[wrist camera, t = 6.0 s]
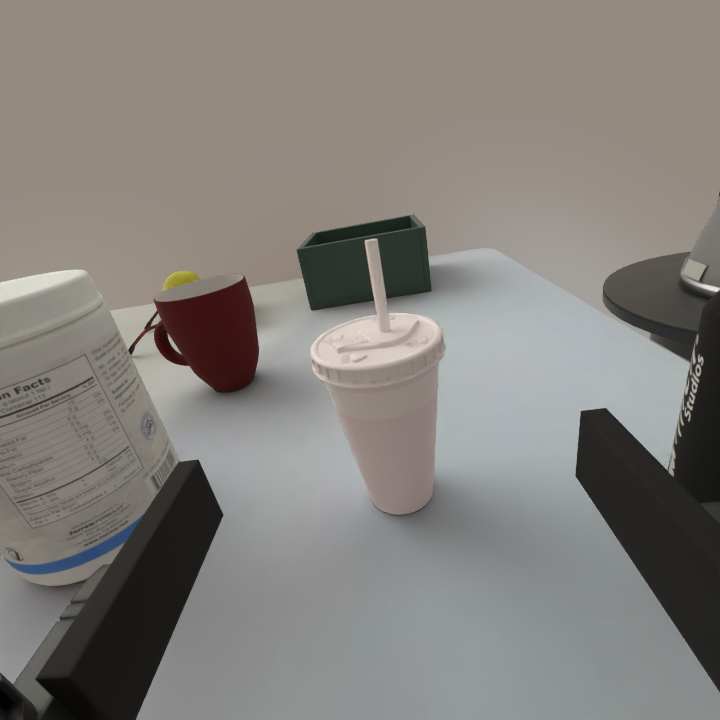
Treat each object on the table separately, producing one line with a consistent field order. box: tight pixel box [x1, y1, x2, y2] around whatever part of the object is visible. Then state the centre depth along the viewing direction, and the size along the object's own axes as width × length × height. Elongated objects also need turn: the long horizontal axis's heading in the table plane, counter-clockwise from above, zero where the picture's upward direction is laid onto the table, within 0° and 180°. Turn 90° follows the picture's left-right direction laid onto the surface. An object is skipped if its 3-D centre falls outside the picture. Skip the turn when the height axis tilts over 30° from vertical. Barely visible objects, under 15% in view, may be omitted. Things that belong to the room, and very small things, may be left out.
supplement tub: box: [0, 270, 180, 586], centre depth 21 cm, size 10×10×15 cm
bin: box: [297, 215, 431, 310], centre depth 61 cm, size 18×16×9 cm
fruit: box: [162, 271, 200, 292], centre depth 69 cm, size 7×7×12 cm
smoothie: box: [310, 239, 446, 515], centre depth 20 cm, size 6×6×14 cm
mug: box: [154, 274, 259, 392], centre depth 37 cm, size 10×8×10 cm
